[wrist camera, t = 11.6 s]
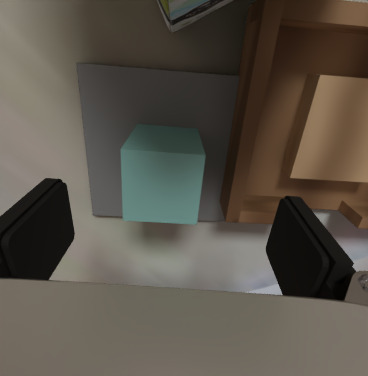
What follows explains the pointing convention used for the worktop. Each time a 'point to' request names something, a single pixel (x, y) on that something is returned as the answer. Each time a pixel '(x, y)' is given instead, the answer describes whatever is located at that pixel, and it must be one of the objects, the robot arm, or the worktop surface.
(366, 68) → the crate
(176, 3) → the tea box
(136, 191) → the teal block
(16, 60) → the worktop surface
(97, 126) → the slate pad
